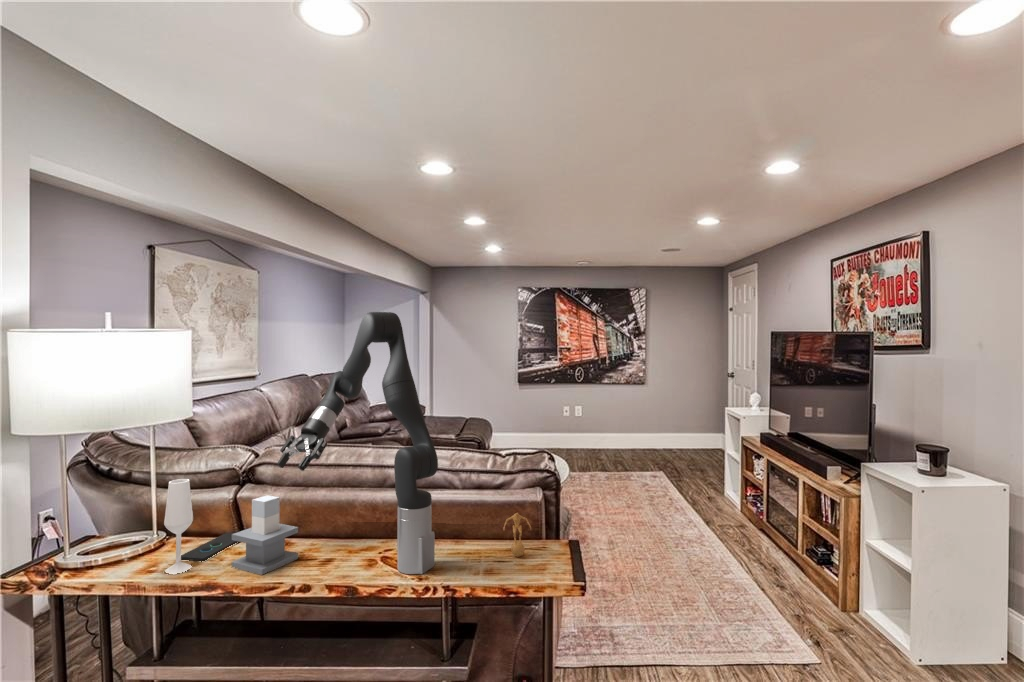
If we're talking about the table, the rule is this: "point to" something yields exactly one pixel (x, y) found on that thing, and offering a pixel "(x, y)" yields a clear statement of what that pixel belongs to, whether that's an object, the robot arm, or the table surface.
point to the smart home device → (209, 548)
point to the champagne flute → (178, 518)
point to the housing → (265, 514)
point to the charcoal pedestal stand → (264, 549)
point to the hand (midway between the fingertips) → (290, 467)
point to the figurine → (517, 547)
